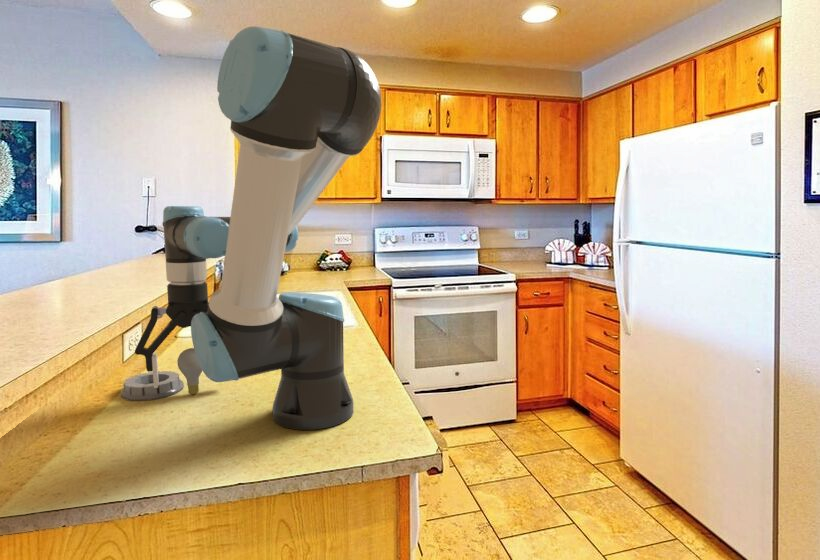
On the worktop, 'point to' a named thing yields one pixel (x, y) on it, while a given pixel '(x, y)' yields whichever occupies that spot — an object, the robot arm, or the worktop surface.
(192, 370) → the light bulb
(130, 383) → the socket
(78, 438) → the worktop surface
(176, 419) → the worktop surface
